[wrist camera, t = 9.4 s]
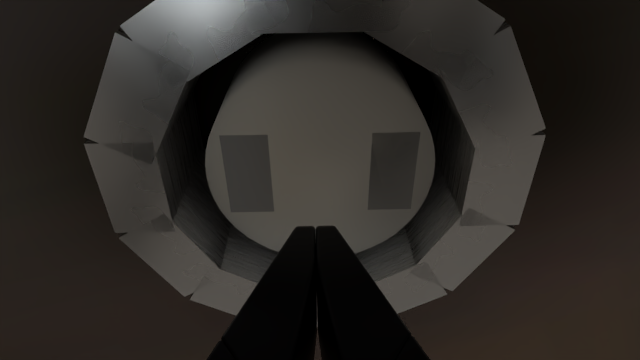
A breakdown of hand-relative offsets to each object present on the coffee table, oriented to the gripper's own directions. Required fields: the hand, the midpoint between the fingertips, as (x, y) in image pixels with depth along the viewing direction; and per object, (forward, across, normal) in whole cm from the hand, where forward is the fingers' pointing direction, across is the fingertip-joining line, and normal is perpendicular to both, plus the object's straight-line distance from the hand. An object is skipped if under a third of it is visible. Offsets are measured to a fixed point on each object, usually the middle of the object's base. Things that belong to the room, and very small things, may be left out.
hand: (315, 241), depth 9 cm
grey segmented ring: (+6, 0, 0) cm, 6 cm away
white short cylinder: (+6, 0, 0) cm, 6 cm away
